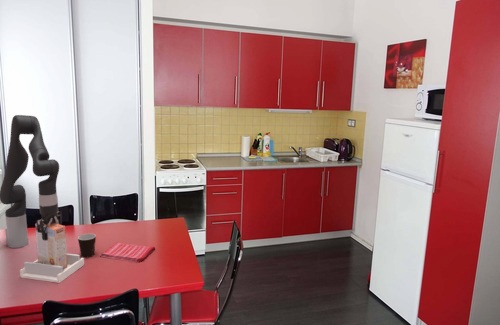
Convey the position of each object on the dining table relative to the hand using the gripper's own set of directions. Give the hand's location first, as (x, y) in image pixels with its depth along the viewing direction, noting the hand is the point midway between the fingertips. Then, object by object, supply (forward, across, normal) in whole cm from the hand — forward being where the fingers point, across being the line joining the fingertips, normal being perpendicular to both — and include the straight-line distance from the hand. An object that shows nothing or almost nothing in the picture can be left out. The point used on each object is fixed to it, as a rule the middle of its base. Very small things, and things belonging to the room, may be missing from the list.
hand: (50, 236), depth 172 cm
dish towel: (+18, -27, +24) cm, 40 cm away
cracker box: (+15, 0, 0) cm, 15 cm away
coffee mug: (+17, -21, +5) cm, 28 cm away
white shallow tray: (+17, 0, 0) cm, 17 cm away
